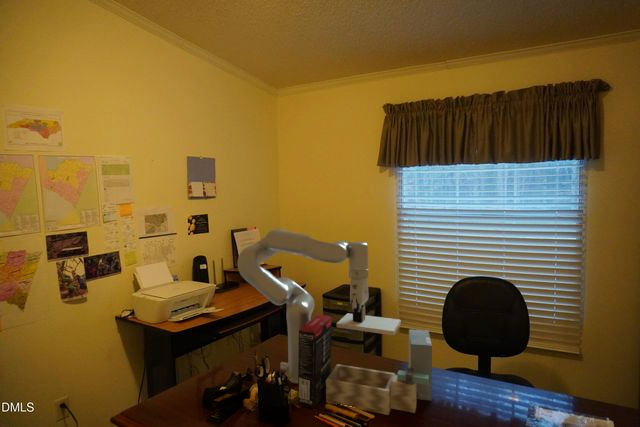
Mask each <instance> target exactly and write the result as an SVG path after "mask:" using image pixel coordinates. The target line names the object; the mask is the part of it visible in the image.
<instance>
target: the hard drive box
mask: <svg viewBox="0 0 640 427" xmlns="http://www.w3.org/2000/svg"><path fill="white" fill-rule="evenodd" d="M408 368H414V373H420V374H426V375H429V381H428V385H425V384H419V383H416V400H422V401H432V390H433V386H432V384H433V381H432V380H433V374H432V373H433V345H432V340H431V336H430V332H429V330H422V329H408Z"/></svg>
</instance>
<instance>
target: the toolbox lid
mask: <svg viewBox="0 0 640 427" xmlns="http://www.w3.org/2000/svg"><path fill="white" fill-rule="evenodd" d="M358 308H359V306H358ZM360 312H361V320H362V321H361V322H354V321H353V313H349V312H348V313H346V314H345V315H344V316H343V317H341V319H340V320H339V321H337V322H336V328H339V329H347V330H353V331H360V332H365V333H366V332H367V333H375V334H383V335H387V336H388V335H389V336H395V334H396V333H397V330H398V329H399V327H400V326H401V324H402V320H401V319H398V318H392V317H388V318H387V317H381V316H374V315H366V306H365V307H361V311H360Z"/></svg>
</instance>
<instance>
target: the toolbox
mask: <svg viewBox="0 0 640 427" xmlns="http://www.w3.org/2000/svg"><path fill="white" fill-rule="evenodd" d="M406 371H407V372H406V381H401V380H397V374H396V373H395V372H389V371H383V370H376V369H372V368H371V369H370V368H365V367H357V366H352V365H344V364H341V363H340V364H338V363H337V364H336V365H335V367H334V368H333V370H331V374H330V375H329V377H328V378H327V379H326V393H325V401H326V402H325V403H328V404H333V405H337V404H342V405H347V406H352V407H355V408H354V409H357V408H358V409H357V410H362V411H366V412H367V411H368V412H371V413H378V414H383V415H385V416H386V415H387V416H389V415H390V412H391V410H392V409H393V410H399V411H403V412H408V413H413V414H415V413H416V410H417V399H416V383H413V382H412V375H413V372H414V368H409V367H407V369H406ZM342 405H341V406H342ZM347 406H346V407H347ZM352 407H351V408H352Z"/></svg>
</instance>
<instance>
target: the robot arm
mask: <svg viewBox="0 0 640 427" xmlns="http://www.w3.org/2000/svg"><path fill="white" fill-rule="evenodd" d="M277 253H283V254H290V255H295V256H296V255H297V256H301V257H303V258H307V259H311V260H315V261H319V262H325V263H328V264H329V263H330V264H341V263H343V262H345V260H346V259H348V278H349V279H350V282H349V283H350V285H349V286H350V287H349V289H350V290H349V302H350V304H351V308H352V314H353V321H354V322H361V321H362V320H361V312H360V311H361V307H365V308H366V306H365V305H366V303H367V301H368V300H369V296H370V294H369V280H368V279H369V245H368V243H367V242H365V241H346V240H336V241H333V242H329V241H322V240H317V239H315V238H313V237H311V236H309V235H307V234H304V233H299V232H291V231H287V230H286V229H284V228H274V229H272V230H270V231H268V232H267V233H266V235H265V236H264V237H262V238H261V239H260V240H258V241H257V242H255V243H253V244H251V245H248V246H246V247H244V248H243V249H242V250H241V252H240V253H239V255H238V258H237V269H238V272H239V274H240V276H241V277H242V278H243V279H244V280H245V281H246V282H247V283H248V284H250V286H252V287H253V288H255V289H256V290H257V291H258V292H259V293H260V294H262V296H264V297H265V298H266V299H267V300H268V301H270V302H271V303H272V304H273V305H276V306H283V305H285V304H287V305H288V306H287V309H286V314H285V315H286V324H287V347H288V348H287V351H288V354H287V356H288V359H287V360H288V362H286V361H285V362H283V361H281V362H280V365H279V367H280V370H282V371H285V372H284V376H285V375H286V376H287V377H288V379H289V381H290V382H289V381H288V382H289V383H292V384H296V385H298V354H299V329H301V328H302V327H303V326H305V325H306V324H307V323H308V322H310V321H311V320H312V319H311V318H312V313H313V311H314V309H315V304H316V302H315V300H314V298H313V296H312V295H311V294H310V292H309V293H308V291H307V290H306V289H304V288H302V287H301V285H299V284H298V283H296V282H295V281H294V280H293V279H291V278H290V277H286V276H282V277H276V276H275V275H274V274H272V272H270V271H269V270H267V269H266V268H264V267H263V266H261V264H262V263H264V262H265V261H267V260H268V259H269V258H271V257H273V256H274V255H275V254H277ZM358 306H359V308H358Z"/></svg>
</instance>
